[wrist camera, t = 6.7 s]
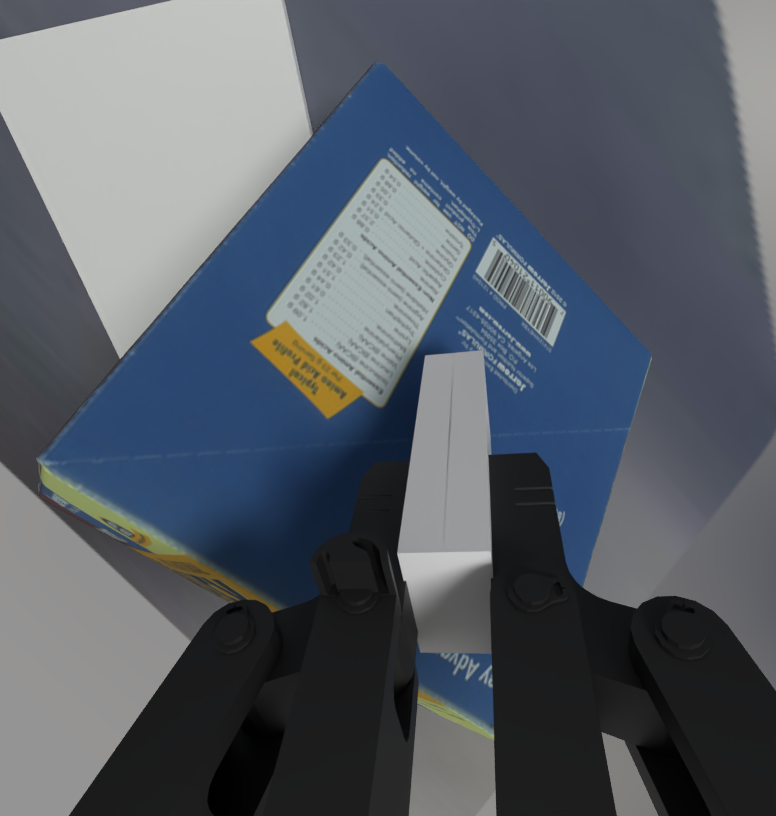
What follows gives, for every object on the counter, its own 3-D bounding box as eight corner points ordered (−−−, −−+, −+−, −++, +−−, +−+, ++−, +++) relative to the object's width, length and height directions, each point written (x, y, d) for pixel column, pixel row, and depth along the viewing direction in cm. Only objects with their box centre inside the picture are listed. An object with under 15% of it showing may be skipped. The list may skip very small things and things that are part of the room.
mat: (-25, 46, 24) (-31, 46, 24) (279, -23, 21) (276, -24, 21) (154, 421, 35) (151, 424, 34) (371, 406, 32) (370, 410, 32)
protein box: (487, 402, 31) (362, 680, 24) (264, 208, 26) (27, 492, 19) (662, 355, 22) (543, 769, 15) (378, 46, 17) (13, 465, 10)
